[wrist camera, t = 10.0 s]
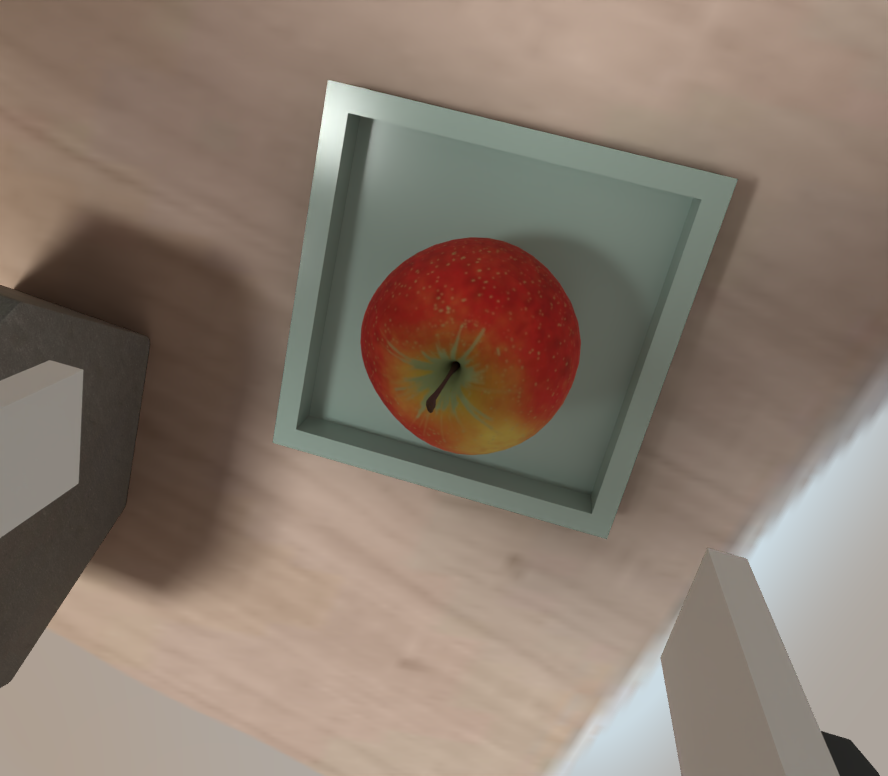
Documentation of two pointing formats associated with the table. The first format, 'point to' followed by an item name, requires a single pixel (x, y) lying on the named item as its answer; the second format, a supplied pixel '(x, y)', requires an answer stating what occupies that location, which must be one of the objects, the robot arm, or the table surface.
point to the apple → (471, 345)
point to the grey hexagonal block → (100, 468)
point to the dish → (521, 224)
